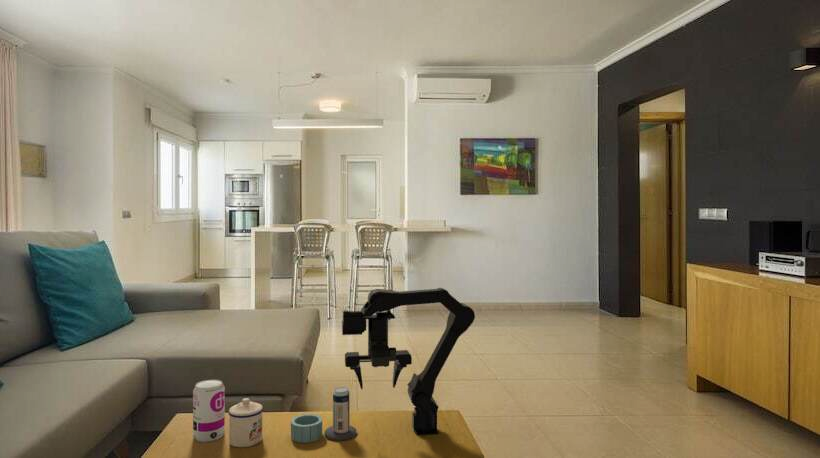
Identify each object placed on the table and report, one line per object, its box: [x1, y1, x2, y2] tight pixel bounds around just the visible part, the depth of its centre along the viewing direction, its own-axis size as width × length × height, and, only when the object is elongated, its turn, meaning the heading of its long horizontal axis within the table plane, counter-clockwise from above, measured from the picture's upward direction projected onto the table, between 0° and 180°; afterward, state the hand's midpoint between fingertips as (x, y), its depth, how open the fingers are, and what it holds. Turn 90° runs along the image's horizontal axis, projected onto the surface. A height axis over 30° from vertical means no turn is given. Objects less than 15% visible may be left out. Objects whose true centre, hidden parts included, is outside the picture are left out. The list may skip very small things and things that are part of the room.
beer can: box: [332, 386, 351, 434], centre depth 145 cm, size 5×5×12 cm
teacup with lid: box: [228, 397, 264, 448], centre depth 142 cm, size 12×9×12 cm
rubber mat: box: [324, 425, 357, 442], centre depth 145 cm, size 9×9×1 cm
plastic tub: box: [290, 413, 323, 444], centre depth 143 cm, size 9×9×5 cm
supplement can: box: [192, 379, 226, 443], centre depth 143 cm, size 8×8×15 cm
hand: (377, 388), depth 146 cm, fingers open, 9 cm apart
